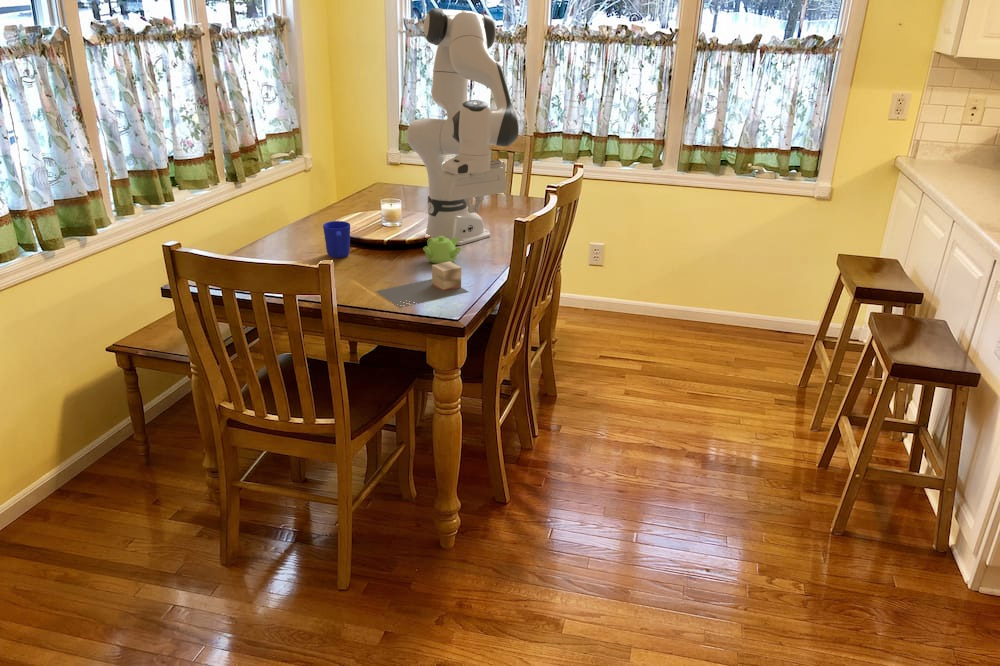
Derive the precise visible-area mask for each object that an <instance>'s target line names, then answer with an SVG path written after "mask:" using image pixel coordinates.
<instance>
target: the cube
mask: <svg viewBox="0 0 1000 666" xmlns="http://www.w3.org/2000/svg"><path fill="white" fill-rule="evenodd" d="M431 279H432V285H433V286H435V287H437V288H438V289H440V290H442V291H447V290H452V289H456V288H460V287H461V288H462V266H459V265H457V264H455V263H454V262H450V261H449V262H444V263H439V264H438V263H433V264H431Z"/></svg>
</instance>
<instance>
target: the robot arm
mask: <svg viewBox="0 0 1000 666" xmlns="http://www.w3.org/2000/svg"><path fill="white" fill-rule="evenodd" d="M422 27H423V35H424V38H425V41H427V42H428V43H430V44H432V45H434V46H437V47H436V52H435V57H434V64H433V71H432V72H433V73H432V86H431V98H432V100H433V101H434V103H435V104H437V106H439V107H440V108H442V109H444V111H445V112H446V115H447V117H446V119H443V118H442V119H441V118H429V117H426V118H418V119H414V120H412V121H411V122H410V124H409V125H408V127H407V130H406V141H407V143H408V146H409V147H410V148H411V149H412V150H413V151H414V152H415V153H416V154H417V156H419V158H420V159H421V160H422V162H423V164H424V166H425V169H426V172H427V180H428V182H427V183H428V196H427V211H428V212H427V213H428V214H427V215H428V218H427V225H426V229H425V233H426V234H428V235H430V236H431V238H438V236H444V238H448V239H450V240H451V241H452V240H453V238H454V237H456V238H458V241H457V244H456V246H462V245H466V244H468V243H473V242H476V241H479V240H483V239H486V238H489V237H491V233H490V231H489V230H487V228H485V227H484V222H483V219H482V217H481V216H480V215H479V214H478V213H479V212H480V211H481V205H482V204H483V202H484V199H485V197H486V196H491V195H499V194H504V193H505V192H506V191H507V188H508V185H507V175H506V174H507V173H506V170H507V169H506V166H507V165H506V163H505V162H504V161H502V160H501V159H497V160H492V152H491V146H497V147H509V146H510V145H512V144H513V143H515V141H517V140H518V137H519V133H520V131H519V130H520V125H519V120H518V118H517V114H516V111H515V109H514V106H513V103H512V100H511V99H512V98H511V95H510V93H509V91H510V90H509V89H508V85H507V80H506V77H505V74H504V71H503V68H502V66H501V63H500V62H499V61H497V60H495V59H494V58H493V56H492V55H491V54H490V52H489V49H490V48H491V47H493V44H494V43H495V39H496V35H497V28H496V22H495V20H494V19H493V17H492V16H490V15H487V14H484V13H482V14H480V13H477V12H475V11H472V10H464V9H462V10H461V9H450V8H449V9H447V8H446V9H443V8H442V7H436V8H434V7H433V8H431V9H430V10H429V11H427V13H426V16H425V17H424V21H423V25H422ZM468 80H469V81H472V82H476V83H478V84H481V85H483V86H485V87H486V88H489V90H490V91H491V92H492V95H493V99H494V103H495V106H496V109H490V105H489V104H488V103H487V102H486V101H482V100H479V99H472V100H468ZM447 156H454V157H452V158H451V159H448V157H447ZM474 198H475V199H476V200H475V202H474V204H473V201H474ZM431 241H432V240H430V242H431Z"/></svg>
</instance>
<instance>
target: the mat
mask: <svg viewBox="0 0 1000 666" xmlns="http://www.w3.org/2000/svg"><path fill="white" fill-rule="evenodd" d="M375 293H377V294H379V295H380V296H382V297H383V298H384V297H385V299H386V300H388V301H389V302H390V301H392V302H391V303H392V304H394V303H395V304H394V305H395V306H396V307H397V308H399V309H401V308H404V307H403V305H405V306H406V307H410V306H409V304H406V303H410V304H414V305H418V304H422V303H426V302H431V301H435V300H440V299H444V298H448V297H453V296H456V295H461V294H462V295H463V294H466V293H469V291H468V290H467V289H465V288H463V287H462V286H461V287H460V288H456V289H452V290H447V291H442V290H440V289H438V288H437V287H435V286H433V285H432V278H431V279H430V278H429V279H426V280H421V281H417V282H411V283H407V284H403V285H397V286H394V287H388V288H383V289H379V290H375ZM406 300H407V301H406ZM400 301H401V302H400ZM409 301H410V302H409ZM403 302H405V303H403ZM413 302H415V303H413ZM416 303H417V304H416ZM397 304H398V305H397ZM400 305H402V306H400Z"/></svg>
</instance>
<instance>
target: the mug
mask: <svg viewBox="0 0 1000 666" xmlns="http://www.w3.org/2000/svg"><path fill="white" fill-rule="evenodd" d="M322 226H323V227H322V228H323V233H324V241H325V247H326V254H327V255H328V256H329V257H330V258H333V259H342V258H346V257H348V256H349V254H350V249H351V248H350V247H351V246H350V245H351V224H350V222H347V221H343V220H334V221H333V220H332V221H328V222H325V223H324V224H323V225H322Z"/></svg>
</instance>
